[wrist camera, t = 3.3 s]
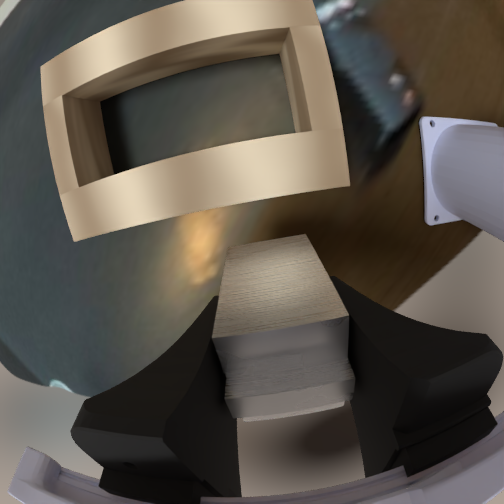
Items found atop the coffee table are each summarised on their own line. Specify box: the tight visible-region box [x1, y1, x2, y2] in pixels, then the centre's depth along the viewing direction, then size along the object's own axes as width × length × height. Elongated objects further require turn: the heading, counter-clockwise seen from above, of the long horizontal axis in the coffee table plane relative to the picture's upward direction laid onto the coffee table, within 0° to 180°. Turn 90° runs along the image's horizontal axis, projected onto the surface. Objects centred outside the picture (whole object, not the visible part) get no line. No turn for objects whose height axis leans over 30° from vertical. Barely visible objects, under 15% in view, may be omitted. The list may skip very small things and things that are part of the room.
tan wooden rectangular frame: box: [41, 0, 350, 242], centre depth 13 cm, size 15×11×4 cm
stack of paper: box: [212, 234, 355, 422], centre depth 10 cm, size 3×4×7 cm
